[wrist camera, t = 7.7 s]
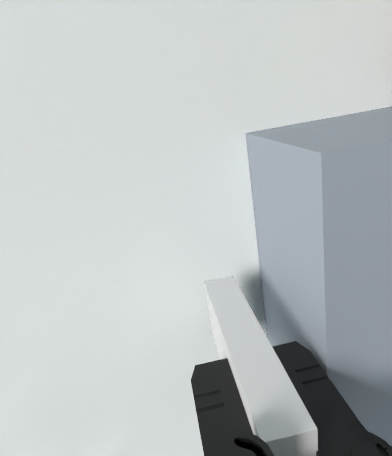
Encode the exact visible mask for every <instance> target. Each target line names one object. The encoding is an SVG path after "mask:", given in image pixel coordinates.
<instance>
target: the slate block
mask: <svg viewBox="0 0 392 456" xmlns="http://www.w3.org/2000/svg"><path fill="white" fill-rule="evenodd" d="M246 140H247V150H248V159H249V169H250V178H251V188H252V197H253V206H254V216H255V225H256V235H257V244H258V254H259V263H260V273H261V282H262V292H263V301H264V310H265V320H266V329H267V338H268V340H269V342H270V344H271V346H277V345H281V344H285V343H289V342H293V341H297V342H298V343H300V344H301V345H303V346H304V347H305V348H307V349H308V350H310V351H311V353H312V354H313V355H314V357H315V358H316V360H317V361H318V363H319V364H320V367H322V368H323V370H324V371H325V373H326V374H327V375H328V378H329V379H330V380H331V381H332V383H333V384H334V385H335V387H336V388H337V390H338V391H339V393H340V394H341V395H342V397H343V398H344V400H345V401H346V403H347V404H348V405H349V407H350V408H351V410H352V411H353V413H354V414H355V415H356V417H357V418H358V420H359V421H360V423H361V424H362V425H363V426H364V427H365V429H366V430H367V431H368V432H371V433H373V434H375V435H376V436H378V437H380V438H382V439H383V440H385V441H386V442H387V443H388V444H389V445H390V446H392V107H387V108H382V109H376V110H371V111H365V112H360V113H354V114H349V115H343V116H338V117H332V118H327V119H322V120H316V121H311V122H305V123H300V124H294V125H289V126H283V127H278V128H272V129H267V130H261V131H256V132H250V133H246Z"/></svg>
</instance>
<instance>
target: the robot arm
mask: <svg viewBox="0 0 392 456" xmlns="http://www.w3.org/2000/svg"><path fill="white" fill-rule="evenodd" d="M204 284H205V290H206V296H207V303H208V309H209V315H210V321H211V327H212V334H213V339H214V343H215V346H216V349H217V352H218V356H219V359H220V360H217V361H212V362H208V363H204V364H200V365H195V368H194V372H193V375H192V378H191V383H192V389H193V395H194V400H195V406H196V411H197V417H198V423H199V429H200V434H201V440H202V445H203V451H204V456H392V446H390V445H389V444H388V443H387V442H386V441H385V440H383V439H382V438H380V437H378V436H376V435H375V434H373V433H371V432H368V431H367V430H366V429H365V427H364V426H363V425H362V424H361V423H360V421H359V420H358V418H357V417H356V415H355V414H354V413H353V411H352V410H351V408H350V407H349V405H348V404H347V403H346V401H345V400H344V398H343V397H342V395H341V394H340V393H339V391H338V390H337V388H336V387H335V385H334V384H333V383H332V381H331V380H330V379H329V378H328V375H327V374H326V373H325V371H324V370H323V368H322V367H320V364H319V363H318V361H317V360H316V358H315V357H314V355H313V354H312V353H311V351H310V350H308V349H307V348H305V347H304V346H303V345H301V344H300V343H298V342H297V341H293V342H289V343H285V344H281V345H277V346H271V344H270V342H269V340H268V338H267V336H266V335H265V333H264V331H263V329H262V327H261V326H260V324H259V322H258V320H257V318H256V317H255V315H254V313H253V311H252V309H251V307H250V306H249V304H248V302H247V300H246V298H245V297H244V295H243V293H242V291H241V289H240V287H239V286H238V284H237V282H236V280H235V278H234V277H233V276H230V277H225V278H220V279H215V280H211V281H206V282H204Z"/></svg>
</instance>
